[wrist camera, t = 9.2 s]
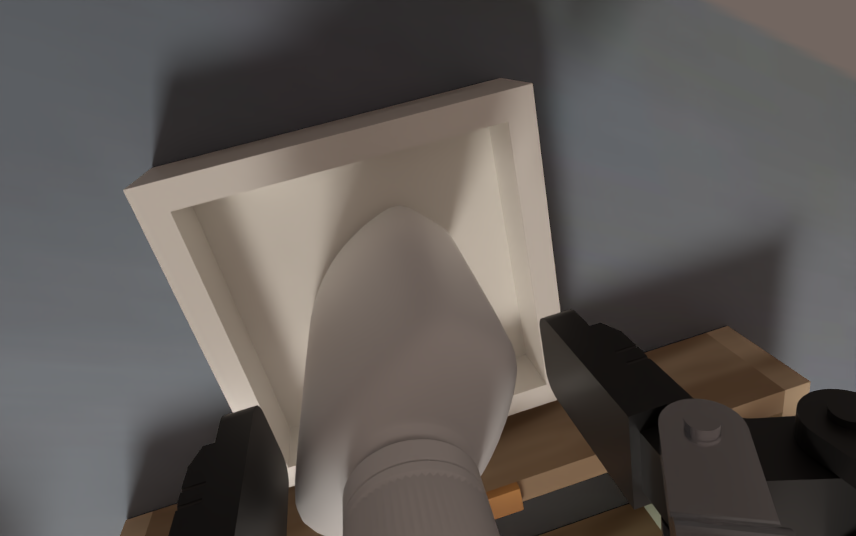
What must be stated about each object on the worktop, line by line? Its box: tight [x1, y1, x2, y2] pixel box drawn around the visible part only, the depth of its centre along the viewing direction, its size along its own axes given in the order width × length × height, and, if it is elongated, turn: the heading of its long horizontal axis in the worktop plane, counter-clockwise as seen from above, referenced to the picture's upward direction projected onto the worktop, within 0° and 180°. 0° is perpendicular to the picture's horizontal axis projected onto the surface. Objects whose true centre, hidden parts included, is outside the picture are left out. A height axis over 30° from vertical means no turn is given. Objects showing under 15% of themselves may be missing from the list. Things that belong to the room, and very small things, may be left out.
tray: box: [123, 78, 560, 487], centre depth 16 cm, size 11×11×2 cm
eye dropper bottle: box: [295, 205, 517, 536], centre depth 11 cm, size 4×6×12 cm
